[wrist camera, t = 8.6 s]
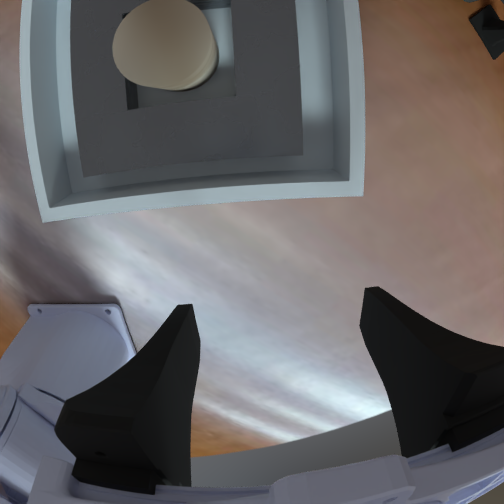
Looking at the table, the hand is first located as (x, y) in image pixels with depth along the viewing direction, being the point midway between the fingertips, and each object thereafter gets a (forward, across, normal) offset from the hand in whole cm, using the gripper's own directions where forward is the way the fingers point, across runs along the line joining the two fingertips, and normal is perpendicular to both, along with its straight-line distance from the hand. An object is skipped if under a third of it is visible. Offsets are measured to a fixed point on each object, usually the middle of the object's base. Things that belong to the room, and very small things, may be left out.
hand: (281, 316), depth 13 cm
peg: (+8, +4, -11) cm, 14 cm away
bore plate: (+8, +4, -12) cm, 15 cm away
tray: (+8, +4, -12) cm, 15 cm away
